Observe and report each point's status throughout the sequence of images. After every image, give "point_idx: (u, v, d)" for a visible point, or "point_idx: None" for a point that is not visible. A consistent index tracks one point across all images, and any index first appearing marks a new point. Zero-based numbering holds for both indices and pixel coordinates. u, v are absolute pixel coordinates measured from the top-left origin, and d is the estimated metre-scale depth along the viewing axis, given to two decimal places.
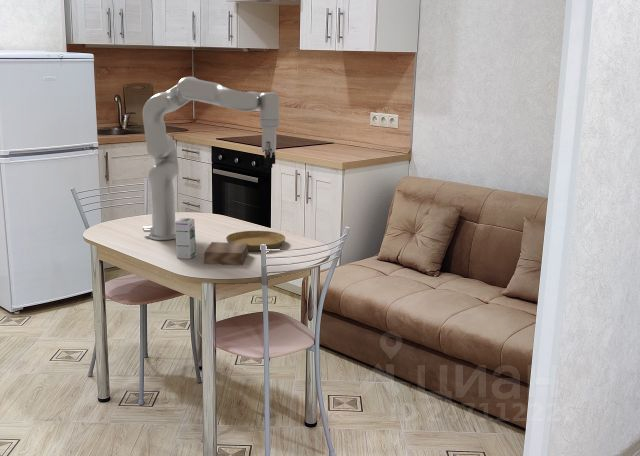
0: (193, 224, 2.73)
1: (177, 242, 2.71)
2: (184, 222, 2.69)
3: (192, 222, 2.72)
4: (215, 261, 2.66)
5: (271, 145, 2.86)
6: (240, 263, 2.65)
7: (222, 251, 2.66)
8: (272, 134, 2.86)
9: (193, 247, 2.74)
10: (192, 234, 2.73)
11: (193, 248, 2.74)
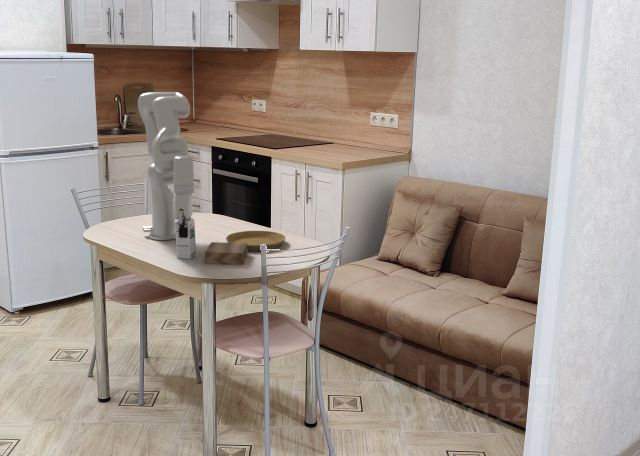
0: (193, 224, 2.73)
1: (177, 242, 2.71)
2: (184, 222, 2.69)
3: (192, 222, 2.72)
4: (215, 261, 2.65)
5: (184, 215, 2.66)
6: (241, 263, 2.65)
7: (222, 251, 2.66)
8: (185, 201, 2.65)
9: (193, 246, 2.74)
10: (192, 234, 2.73)
11: (193, 248, 2.74)
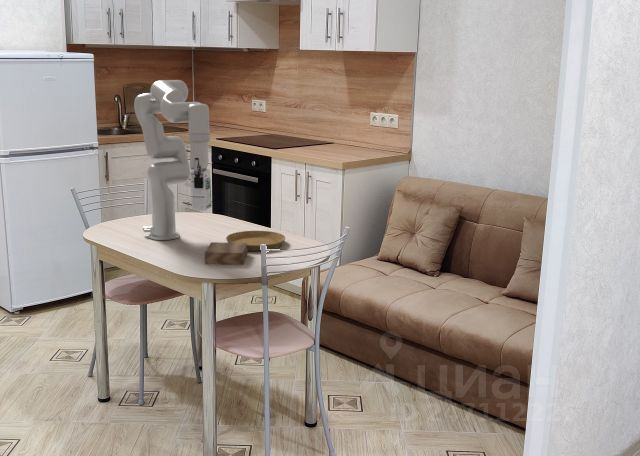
0: (209, 175, 2.67)
1: (192, 193, 2.66)
2: None
3: (208, 173, 2.66)
4: (215, 261, 2.65)
5: (200, 164, 2.60)
6: (241, 263, 2.65)
7: (223, 251, 2.66)
8: (201, 150, 2.59)
9: (208, 198, 2.68)
10: (208, 185, 2.67)
11: (209, 200, 2.68)
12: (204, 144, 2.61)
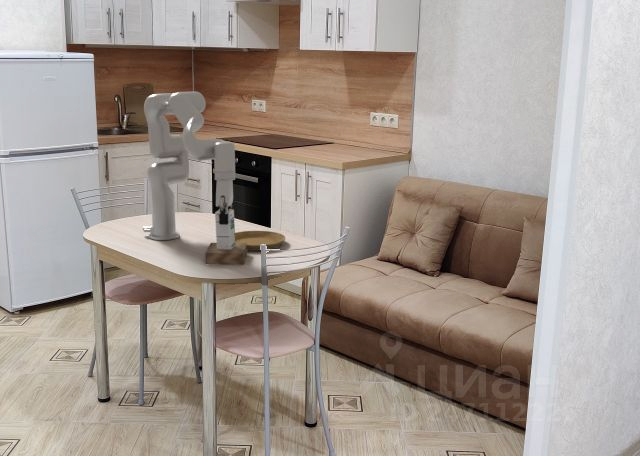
0: (233, 214, 2.70)
1: (217, 233, 2.68)
2: None
3: (232, 212, 2.69)
4: (216, 261, 2.65)
5: (226, 200, 2.62)
6: (241, 263, 2.66)
7: (223, 251, 2.66)
8: (227, 187, 2.61)
9: (233, 237, 2.70)
10: (232, 225, 2.69)
11: (233, 239, 2.71)
12: (230, 182, 2.63)
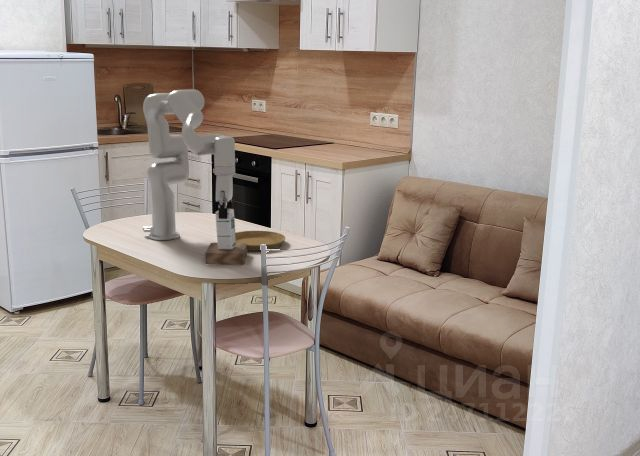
0: (233, 214, 2.70)
1: (218, 233, 2.67)
2: None
3: (232, 212, 2.69)
4: (216, 261, 2.65)
5: (226, 194, 2.61)
6: (241, 263, 2.66)
7: (223, 251, 2.66)
8: (227, 182, 2.61)
9: (233, 237, 2.70)
10: (233, 224, 2.69)
11: (234, 239, 2.70)
12: (230, 177, 2.62)
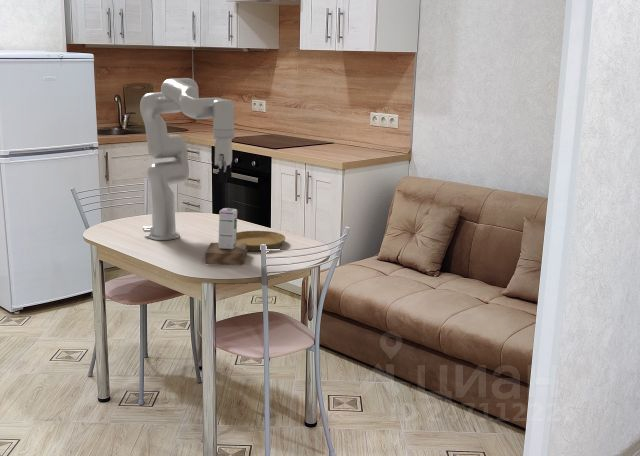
0: (236, 214, 2.70)
1: (220, 232, 2.67)
2: (229, 211, 2.66)
3: (236, 212, 2.69)
4: (216, 261, 2.65)
5: (225, 158, 2.58)
6: (241, 263, 2.66)
7: (223, 252, 2.66)
8: (226, 146, 2.58)
9: (235, 237, 2.70)
10: (235, 224, 2.70)
11: (235, 239, 2.71)
12: (229, 140, 2.59)
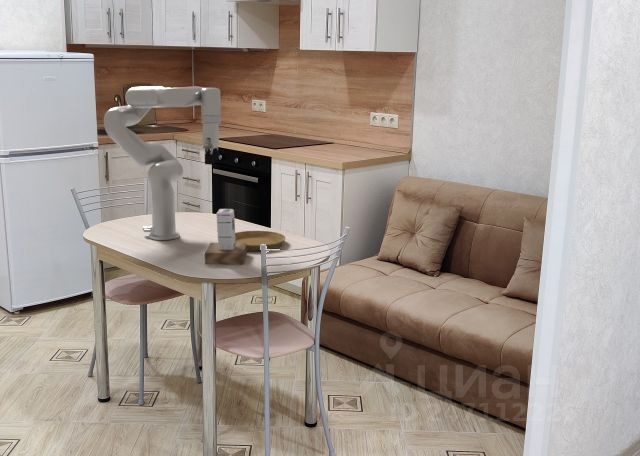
0: (233, 214, 2.69)
1: (219, 234, 2.67)
2: (226, 213, 2.65)
3: (233, 212, 2.68)
4: (215, 261, 2.65)
5: (211, 141, 2.81)
6: (241, 263, 2.66)
7: (222, 251, 2.66)
8: (212, 130, 2.81)
9: (234, 237, 2.70)
10: (233, 225, 2.69)
11: (234, 239, 2.70)
12: (215, 125, 2.82)
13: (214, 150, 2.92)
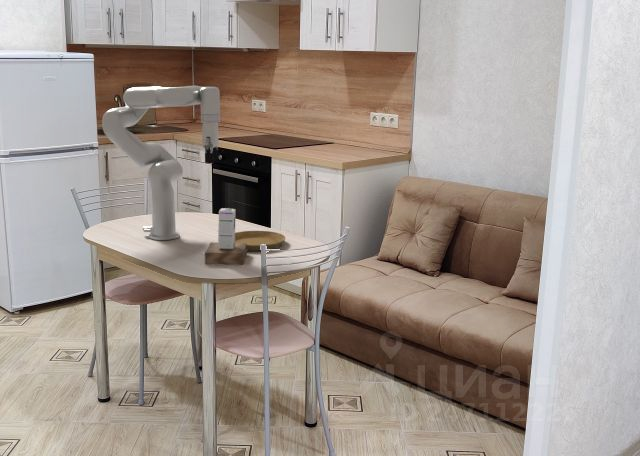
0: None
1: (220, 232, 2.67)
2: (229, 211, 2.66)
3: None
4: (215, 261, 2.65)
5: (211, 140, 2.82)
6: (241, 263, 2.66)
7: (222, 251, 2.66)
8: (212, 129, 2.81)
9: (234, 237, 2.70)
10: (234, 224, 2.70)
11: (234, 239, 2.71)
12: (215, 124, 2.83)
13: (214, 149, 2.92)
